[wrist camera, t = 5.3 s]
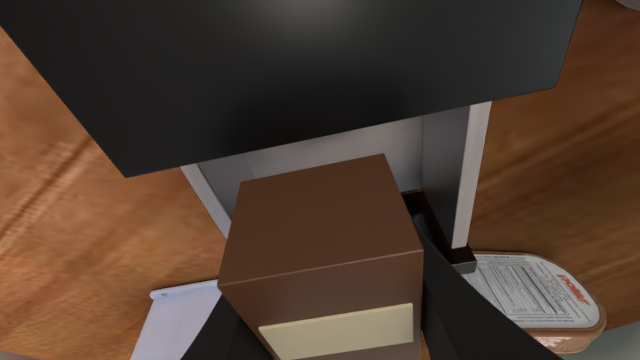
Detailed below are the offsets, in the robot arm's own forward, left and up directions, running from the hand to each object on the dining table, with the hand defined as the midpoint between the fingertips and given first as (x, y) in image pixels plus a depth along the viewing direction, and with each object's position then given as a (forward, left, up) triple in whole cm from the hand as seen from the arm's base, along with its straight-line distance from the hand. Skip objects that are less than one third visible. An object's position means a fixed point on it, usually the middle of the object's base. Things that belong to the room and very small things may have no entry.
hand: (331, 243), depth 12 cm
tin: (+13, -17, -9) cm, 24 cm away
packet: (0, 0, -1) cm, 0 cm away
